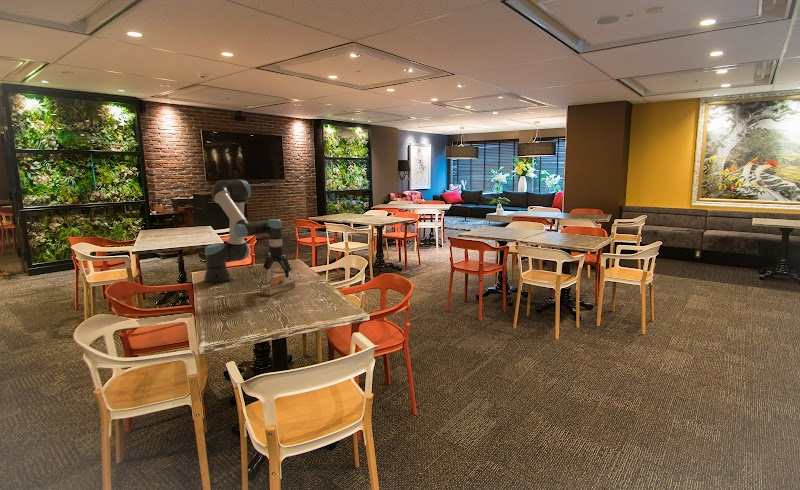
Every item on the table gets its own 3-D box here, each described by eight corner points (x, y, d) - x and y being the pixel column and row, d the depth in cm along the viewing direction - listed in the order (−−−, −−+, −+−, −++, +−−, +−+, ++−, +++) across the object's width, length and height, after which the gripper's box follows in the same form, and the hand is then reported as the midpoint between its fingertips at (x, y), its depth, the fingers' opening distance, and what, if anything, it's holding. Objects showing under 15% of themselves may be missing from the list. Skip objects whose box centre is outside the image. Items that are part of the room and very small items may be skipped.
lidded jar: (293, 279, 276) (292, 265, 274) (287, 283, 266) (286, 269, 264) (277, 279, 277) (276, 265, 275) (270, 283, 267) (269, 268, 265)
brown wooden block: (260, 293, 245) (259, 286, 244) (285, 285, 262) (285, 279, 261) (270, 295, 241) (269, 288, 240) (295, 287, 258) (294, 280, 257)
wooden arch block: (271, 291, 249) (270, 276, 247) (281, 288, 255) (280, 273, 254) (275, 292, 247) (274, 277, 246) (285, 289, 254) (284, 274, 252)
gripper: (255, 245, 250) (257, 280, 253) (287, 248, 237) (288, 285, 241) (265, 243, 256) (267, 277, 260) (296, 246, 244) (298, 282, 247)
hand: (277, 281), depth 250 cm, fingers open, 13 cm apart
